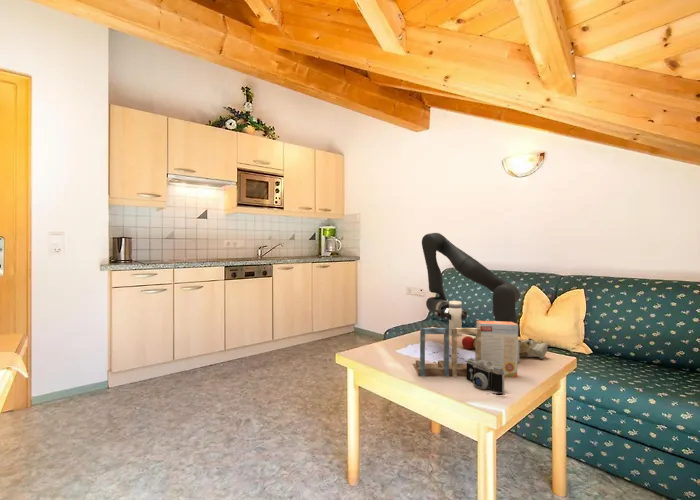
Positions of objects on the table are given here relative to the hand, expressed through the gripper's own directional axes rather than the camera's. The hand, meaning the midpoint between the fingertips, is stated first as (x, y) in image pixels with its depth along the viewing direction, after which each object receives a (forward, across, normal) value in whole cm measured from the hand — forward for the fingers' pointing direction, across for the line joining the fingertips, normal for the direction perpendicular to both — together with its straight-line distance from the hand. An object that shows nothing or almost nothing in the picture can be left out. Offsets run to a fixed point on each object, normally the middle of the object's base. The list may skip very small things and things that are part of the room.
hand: (457, 317), depth 140 cm
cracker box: (+9, +12, +21) cm, 26 cm away
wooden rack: (+5, -6, +21) cm, 22 cm away
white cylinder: (-3, 0, +8) cm, 8 cm away
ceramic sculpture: (-14, +37, +22) cm, 45 cm away
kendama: (-25, +19, +21) cm, 38 cm away
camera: (+20, +2, +21) cm, 29 cm away
